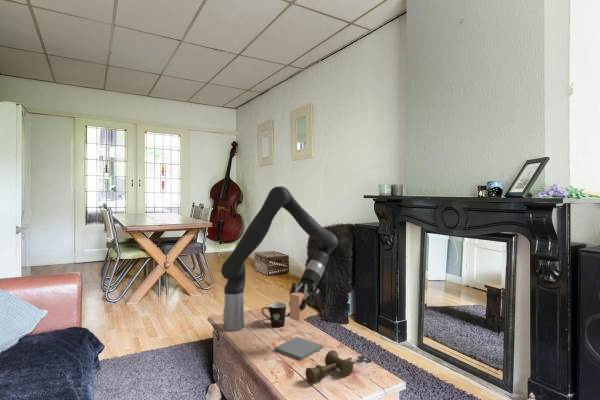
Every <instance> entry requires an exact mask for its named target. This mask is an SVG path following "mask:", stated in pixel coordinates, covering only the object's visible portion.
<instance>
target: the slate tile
mask: <svg viewBox="0 0 600 400" xmlns="http://www.w3.org/2000/svg"><path fill="white" fill-rule="evenodd" d="M322 349H324V345H323V344H321V343H318V342H315V341H312V340H308V339H306V338H302V337H299V336H296V337H293V338H291V339H290V340H287V341H286V342H283V343H281V344H279V345H277V346H275V347H274V351H276V352H277V353H280V354H283V355H286V356H289V357H291V358H293V359H297V360H299V361H303V360H304V359H307V358H308V357H310V356H311V355H313V354H314V353H316V352H318V351H320V350H322Z"/></svg>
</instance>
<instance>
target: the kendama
mask: <svg viewBox="0 0 600 400" xmlns="http://www.w3.org/2000/svg"><path fill="white" fill-rule="evenodd" d="M352 359H353V357H348V358H345V359H341V358H340V357H339V355H338V353H337V351H336V350H333V349H332V350H330V351H328V352H327V353H326V355H325V357H324V363H325V365H320V364H316V365H315V366H314V367H310V366H309V367H306V369H305V371H304V372H305V378H306V380H307V381H308V383H310V384H312V385H315V383H316V381H317V380H318V379H320V380H322V379H324V378H325V375H326V374H328V373H329V372H331V371H332V370H333V369H335V368H336V369H338V370H339V371H340V373H341V375H342V376H343V377H348V376H350V375H351V374H352V373H353V371H354V363H353V361H352Z"/></svg>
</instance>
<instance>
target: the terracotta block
mask: <svg viewBox="0 0 600 400" xmlns="http://www.w3.org/2000/svg"><path fill="white" fill-rule="evenodd" d="M304 296H305V294H304V293H303V292H299V291H298V292H295V293H291V294H290V295H289V302H290V306H289V319H291V320H295V321H298V322H301V321H303V320H306V319H308V304H307V305H306V307H305V309H303V310H300V308H299V307H300V305H301V303H302V301H303V300H304Z"/></svg>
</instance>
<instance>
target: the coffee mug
mask: <svg viewBox="0 0 600 400" xmlns="http://www.w3.org/2000/svg"><path fill="white" fill-rule="evenodd" d="M264 309H267V310H268V312H269V316H267V315H266V314H265V313H264ZM286 313H287V303H285V302H271V303H270V304H268V307H267V306H265V307H263V308H261V314H262V315H263V316H264V317H265V318H267V319H268V320H269V321H270V325H271V327H272V328H275V329H280V327H281V328H283V327H285V323H286V322H285V321H286Z"/></svg>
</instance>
